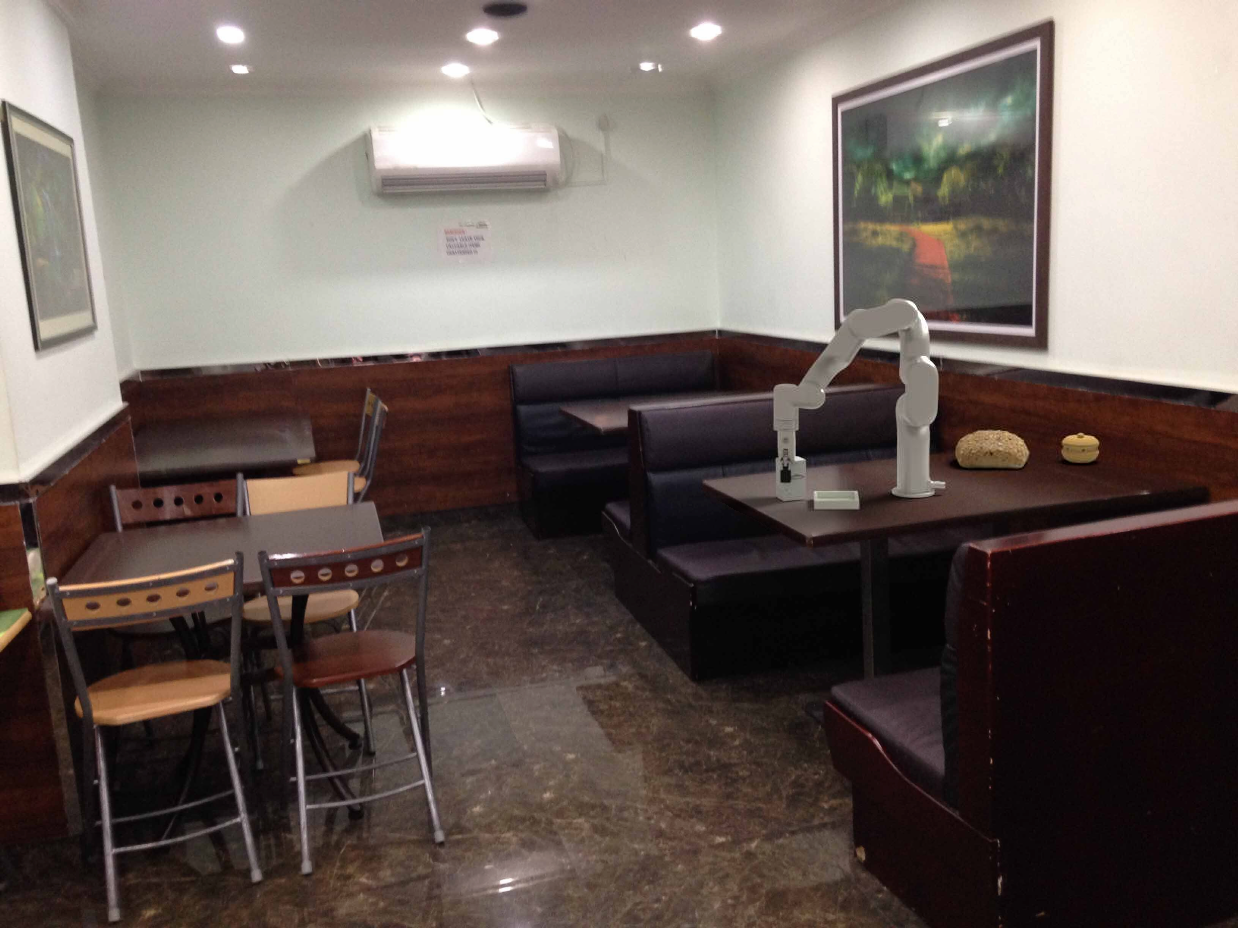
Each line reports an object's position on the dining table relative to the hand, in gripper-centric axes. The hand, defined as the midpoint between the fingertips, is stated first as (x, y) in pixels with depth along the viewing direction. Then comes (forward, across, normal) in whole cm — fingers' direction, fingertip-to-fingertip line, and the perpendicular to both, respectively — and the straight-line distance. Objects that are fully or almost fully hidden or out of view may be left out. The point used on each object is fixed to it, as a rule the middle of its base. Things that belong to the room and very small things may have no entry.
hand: (786, 479), depth 321 cm
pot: (+4, +51, -98) cm, 110 cm away
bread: (+5, +49, -69) cm, 85 cm away
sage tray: (+6, -8, -15) cm, 18 cm away
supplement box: (+6, 0, -2) cm, 7 cm away
